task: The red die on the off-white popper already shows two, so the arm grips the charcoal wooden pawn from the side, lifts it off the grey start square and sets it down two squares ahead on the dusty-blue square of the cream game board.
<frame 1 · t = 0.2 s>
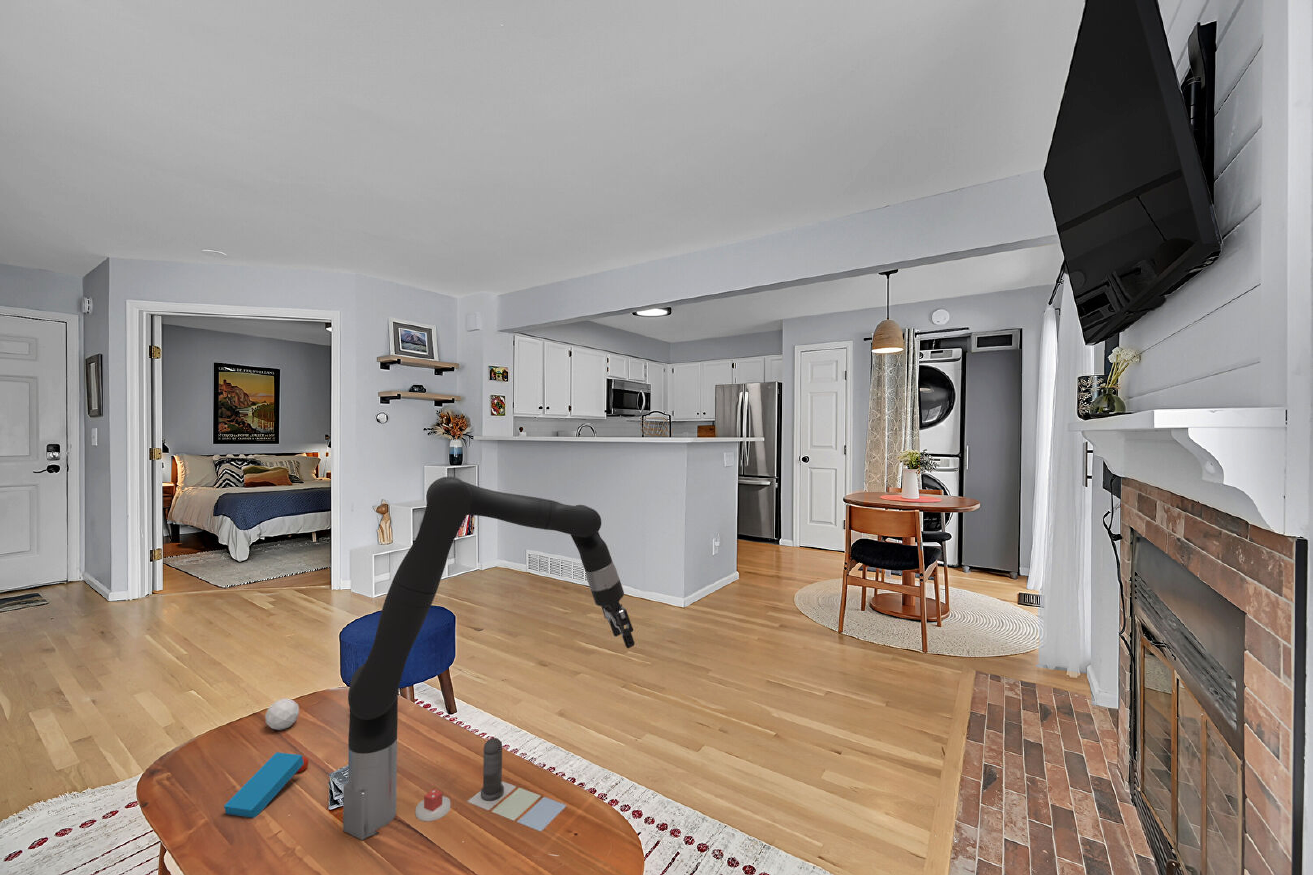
hand: (624, 640, 143), 31 cm above the table, tool tilted 20°, fingers open, 8 cm apart
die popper: (433, 815, 123), on the table
toy fire truck: (370, 715, 165), on the table
lever: (274, 792, 131), on the table
charcoal pawn: (492, 793, 129), point 1 cm above the table, touching game board
geometric ball: (282, 728, 157), on the table
game board: (516, 808, 126), on the table
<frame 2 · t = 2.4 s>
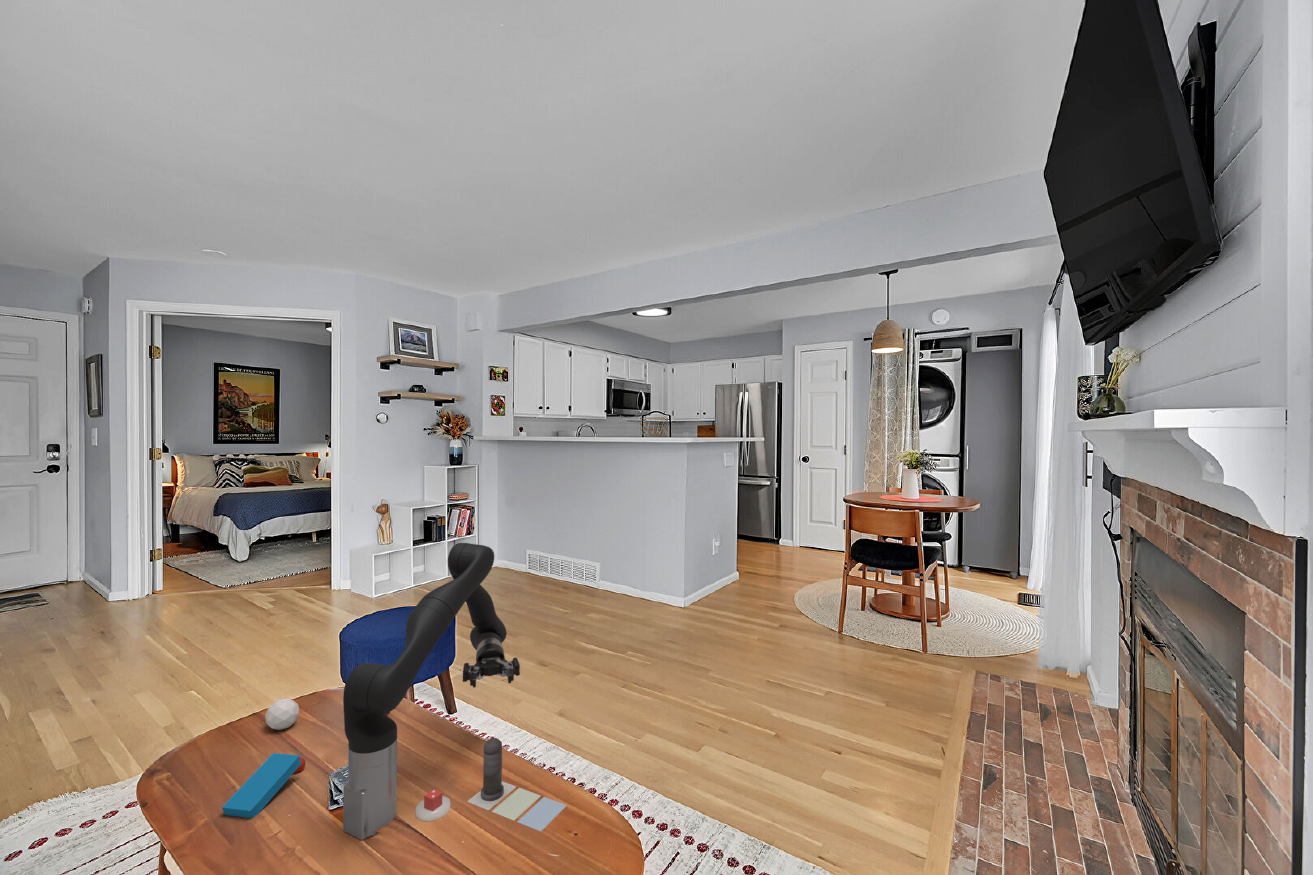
hand: (492, 681, 143), 20 cm above the table, tool horizontal, fingers open, 8 cm apart
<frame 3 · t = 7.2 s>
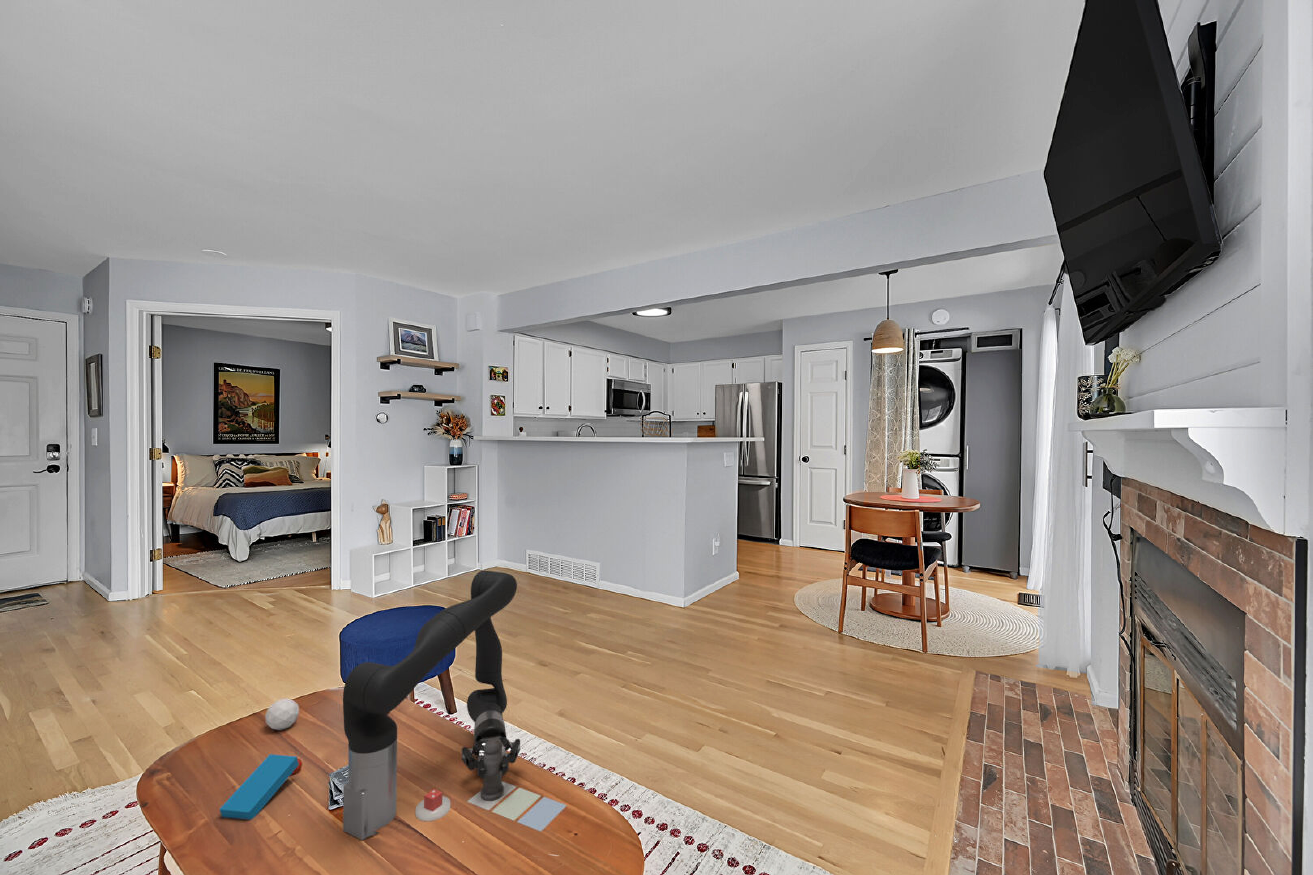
hand: (493, 772, 126), 8 cm above the table, tool horizontal, fingers closed on charcoal pawn, 4 cm apart
charcoal pawn: (492, 793, 129), point 1 cm above the table, touching game board, gripper
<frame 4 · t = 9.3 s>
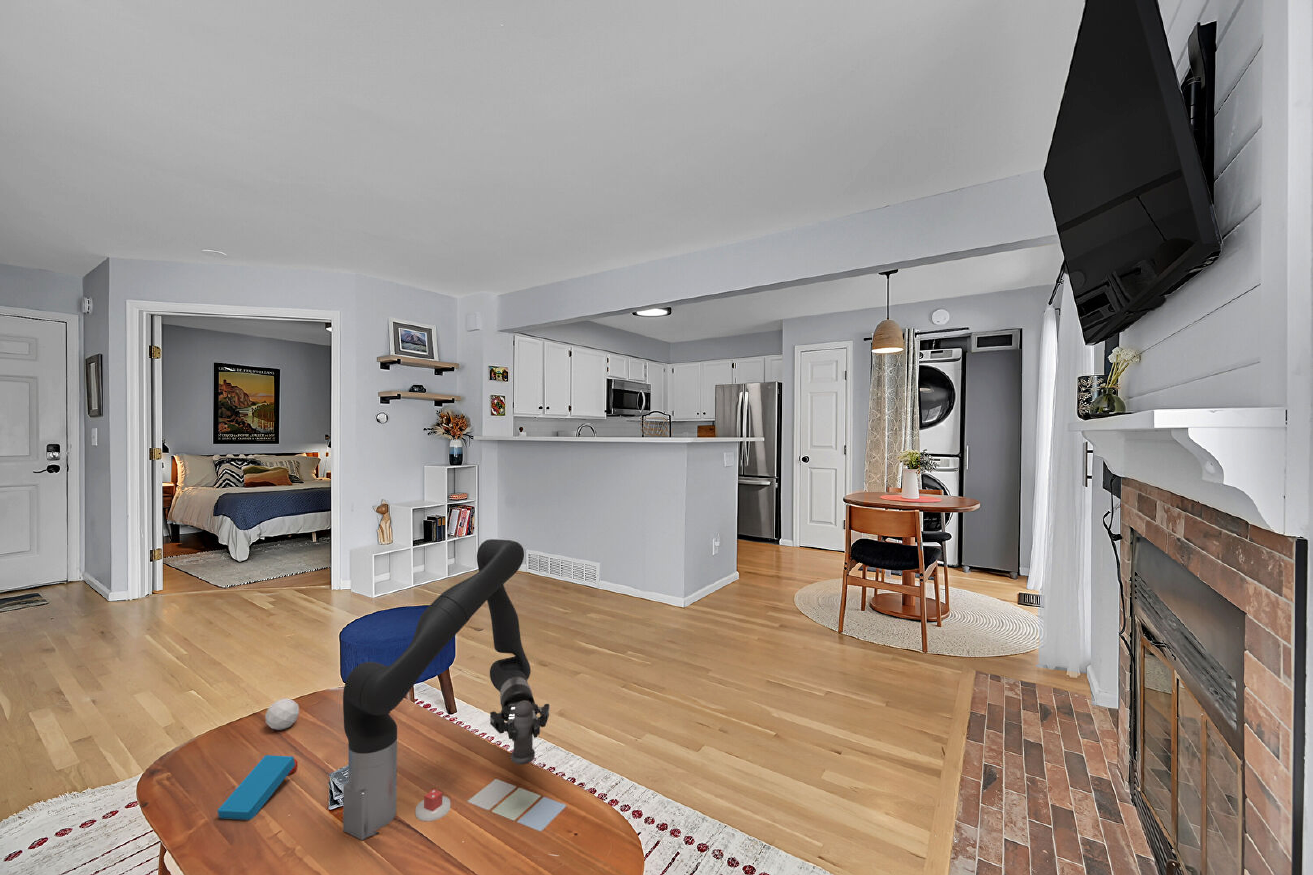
hand: (525, 734, 123), 18 cm above the table, tool horizontal, fingers closed on charcoal pawn, 4 cm apart
charcoal pawn: (523, 757, 125), point 11 cm above the table, touching gripper
when the fingers open (9 cm above the table, at t = 11.8 s): charcoal pawn drops 1 cm, resting on game board.
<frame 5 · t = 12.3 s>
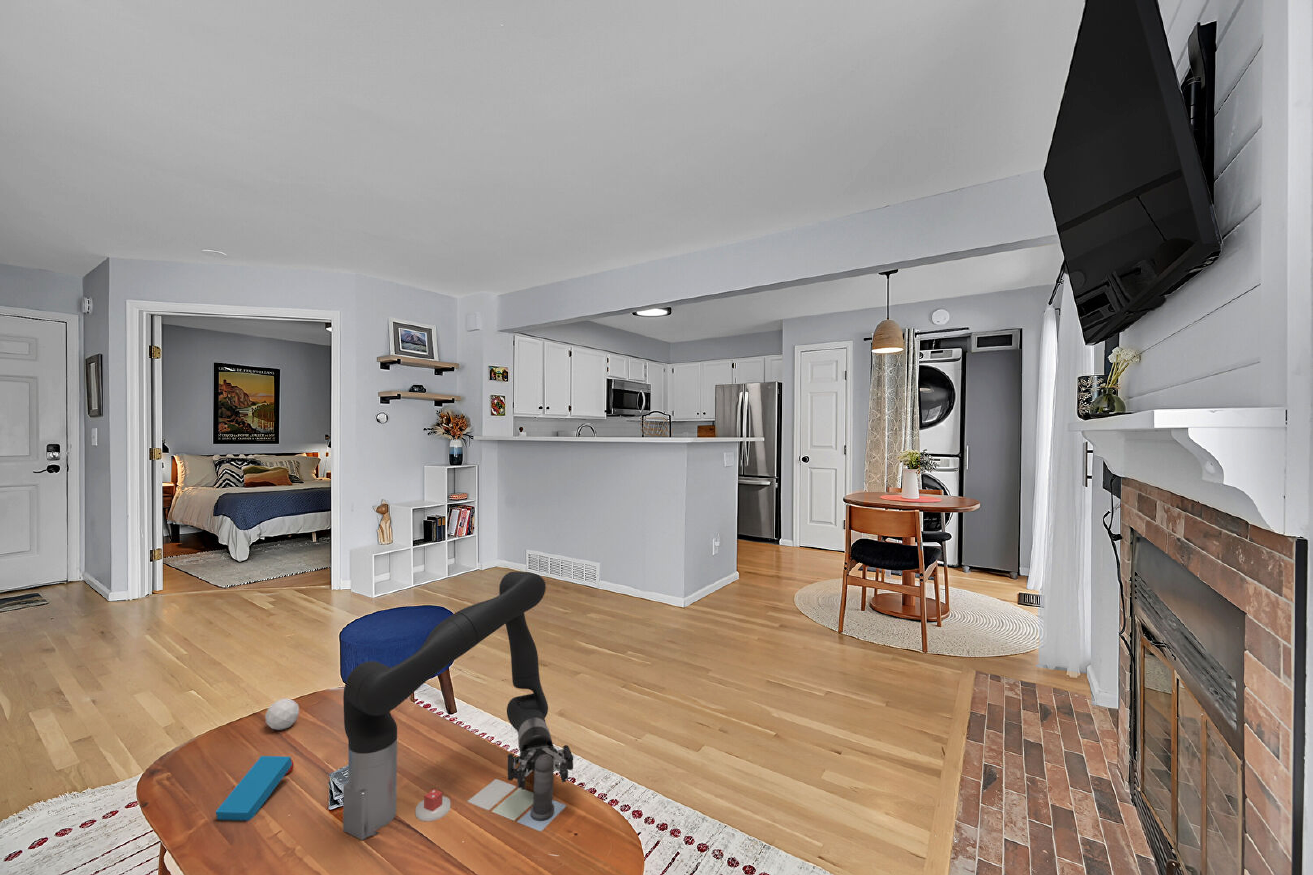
hand: (544, 781, 121), 9 cm above the table, tool horizontal, fingers open, 8 cm apart
charcoal pawn: (542, 812, 123), point 1 cm above the table, touching game board
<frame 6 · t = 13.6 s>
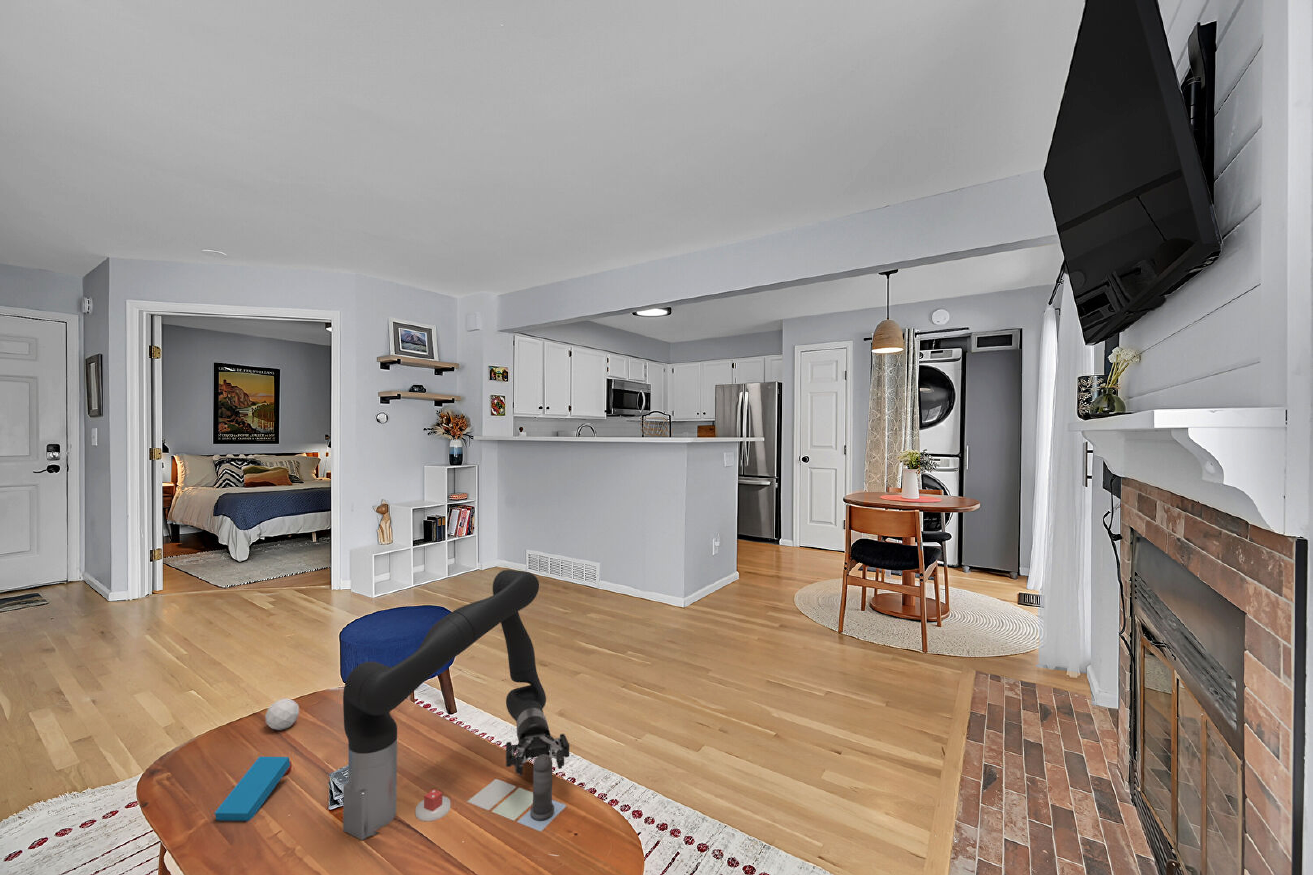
hand: (541, 767, 125), 9 cm above the table, tool horizontal, fingers open, 8 cm apart
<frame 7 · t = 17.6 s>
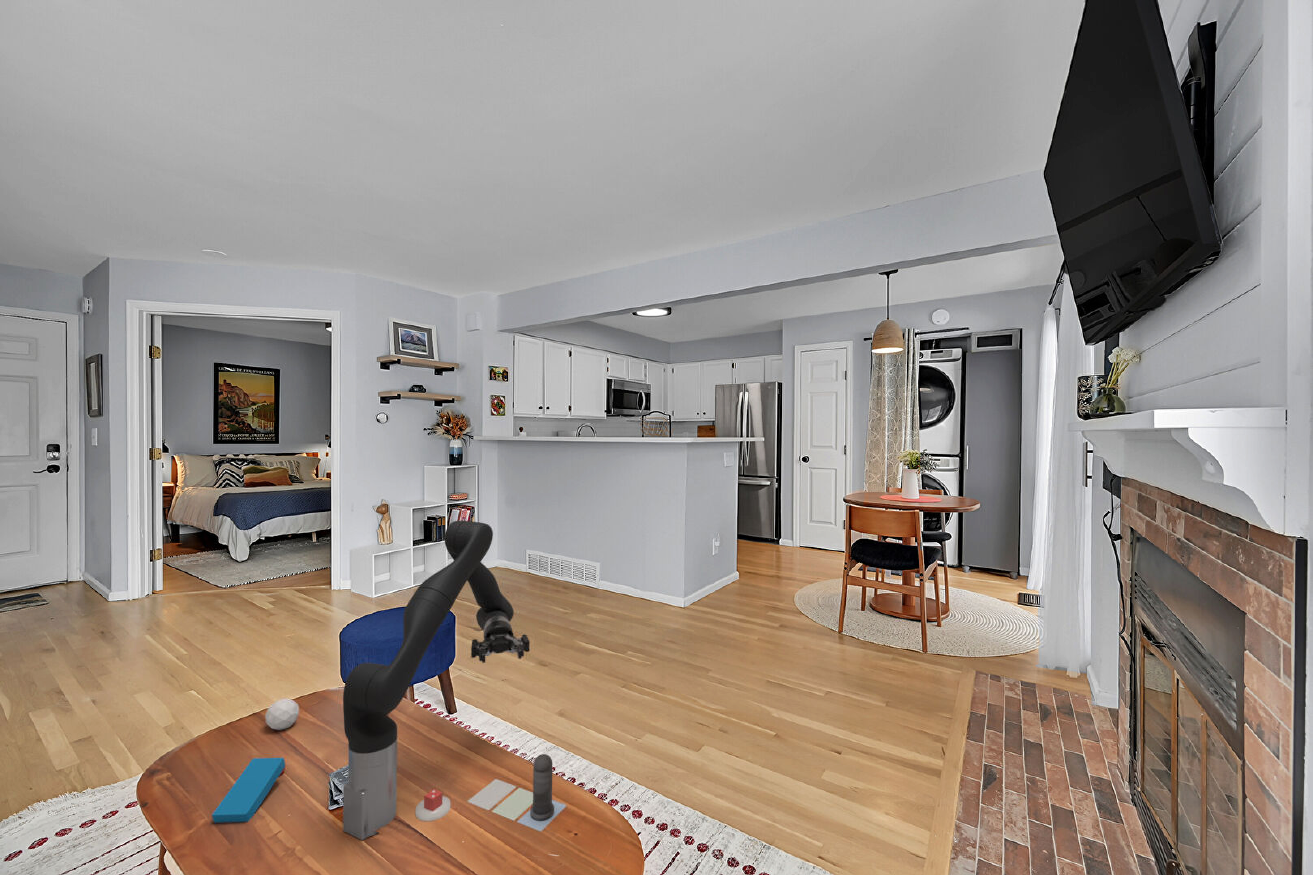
hand: (502, 656, 139), 28 cm above the table, tool horizontal, fingers open, 8 cm apart
at the end: charcoal pawn 0.1 cm from the target spot on the game board, point 1.2 cm above the game board's base; charcoal pawn tilted 0°; the gripper is holding nothing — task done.
